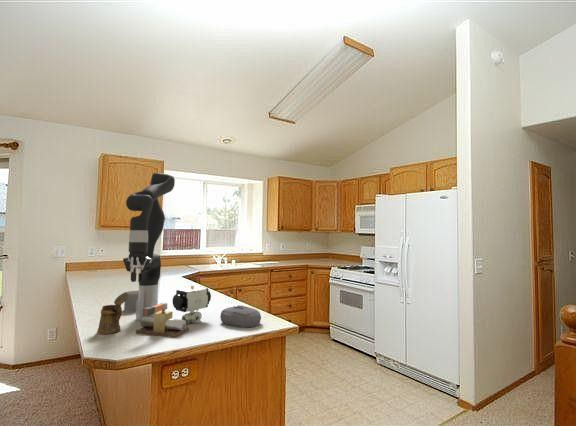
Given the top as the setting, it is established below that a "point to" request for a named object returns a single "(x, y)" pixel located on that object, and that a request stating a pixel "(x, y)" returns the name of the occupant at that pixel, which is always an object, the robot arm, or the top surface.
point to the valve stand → (162, 325)
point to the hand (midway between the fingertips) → (137, 281)
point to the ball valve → (191, 302)
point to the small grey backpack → (240, 316)
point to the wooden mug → (111, 316)
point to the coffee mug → (131, 301)
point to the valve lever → (154, 309)
